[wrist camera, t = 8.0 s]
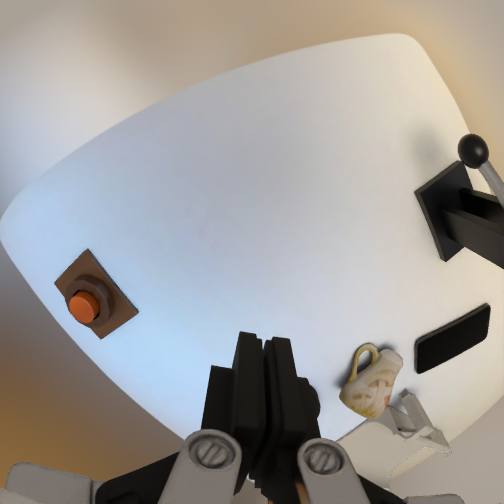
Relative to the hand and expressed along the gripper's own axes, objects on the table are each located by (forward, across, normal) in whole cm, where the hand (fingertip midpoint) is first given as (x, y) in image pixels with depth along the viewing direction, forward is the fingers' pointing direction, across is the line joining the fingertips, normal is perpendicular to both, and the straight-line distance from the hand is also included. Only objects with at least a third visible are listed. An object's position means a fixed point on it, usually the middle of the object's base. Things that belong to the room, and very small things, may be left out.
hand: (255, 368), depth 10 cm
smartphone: (+22, -34, +11) cm, 42 cm away
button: (+20, +18, +13) cm, 30 cm away
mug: (+23, -20, +17) cm, 35 cm away
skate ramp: (+23, -36, +37) cm, 56 cm away
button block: (+22, +18, +13) cm, 31 cm away
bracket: (+22, -24, -7) cm, 33 cm away
